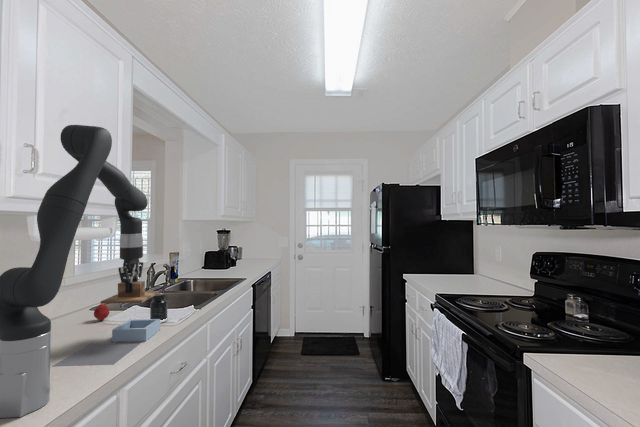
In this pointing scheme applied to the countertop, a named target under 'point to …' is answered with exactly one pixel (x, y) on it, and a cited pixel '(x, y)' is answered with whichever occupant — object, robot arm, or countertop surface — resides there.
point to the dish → (136, 330)
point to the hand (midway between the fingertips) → (131, 291)
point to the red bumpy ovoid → (101, 312)
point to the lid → (131, 294)
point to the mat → (98, 354)
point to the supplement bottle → (158, 307)
